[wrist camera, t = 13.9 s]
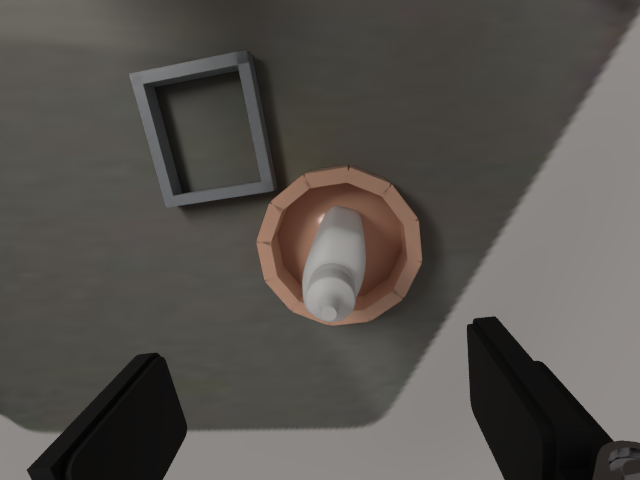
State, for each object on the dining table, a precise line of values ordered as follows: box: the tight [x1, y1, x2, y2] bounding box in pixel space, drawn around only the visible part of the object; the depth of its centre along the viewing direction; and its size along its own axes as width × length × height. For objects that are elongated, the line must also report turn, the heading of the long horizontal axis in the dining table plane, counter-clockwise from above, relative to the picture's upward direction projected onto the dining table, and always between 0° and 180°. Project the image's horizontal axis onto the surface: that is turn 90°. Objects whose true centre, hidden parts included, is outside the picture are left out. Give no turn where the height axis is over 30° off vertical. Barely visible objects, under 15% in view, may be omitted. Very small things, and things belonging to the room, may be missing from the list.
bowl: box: [257, 164, 422, 326], centre depth 26 cm, size 11×11×4 cm
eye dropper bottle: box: [302, 206, 366, 322], centre depth 21 cm, size 4×6×12 cm
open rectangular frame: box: [129, 50, 278, 208], centre depth 25 cm, size 10×9×2 cm
